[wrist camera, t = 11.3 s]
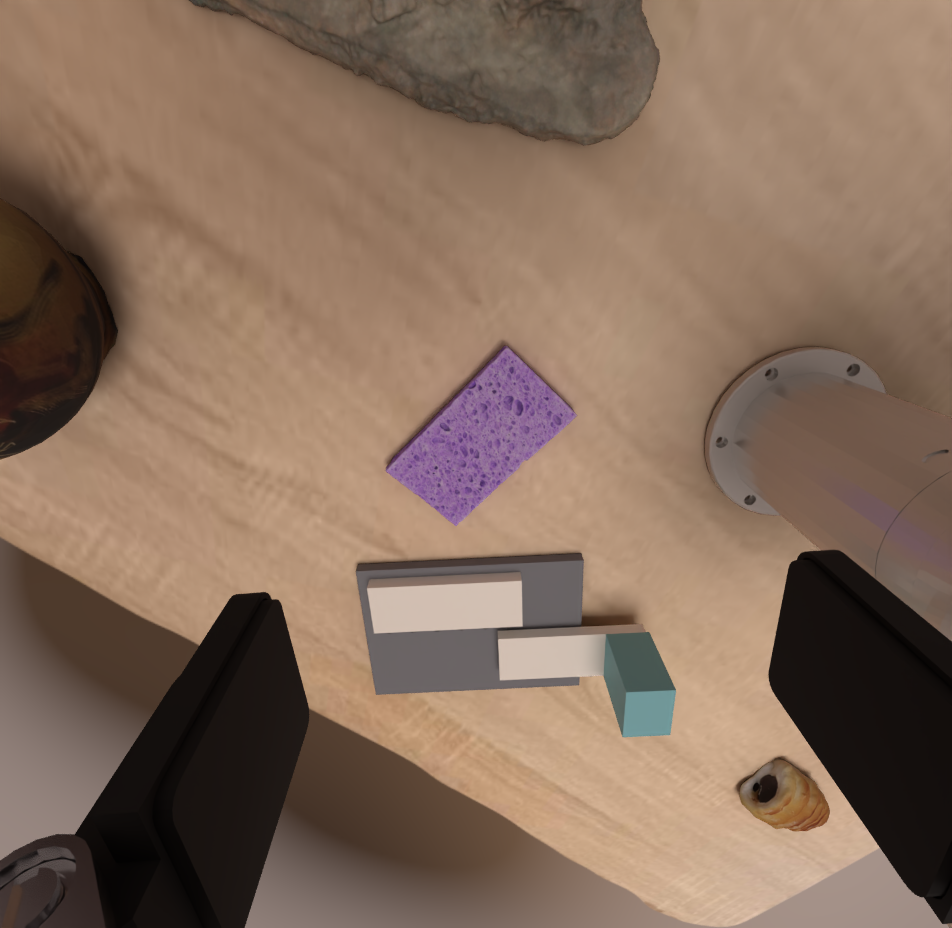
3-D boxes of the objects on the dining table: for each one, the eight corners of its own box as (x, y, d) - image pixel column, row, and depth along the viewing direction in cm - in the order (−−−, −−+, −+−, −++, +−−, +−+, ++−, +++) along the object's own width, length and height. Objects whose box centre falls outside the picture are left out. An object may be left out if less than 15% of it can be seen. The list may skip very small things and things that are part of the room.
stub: (645, 623, 44) (675, 690, 37) (641, 664, 45) (670, 734, 39) (497, 630, 44) (502, 698, 37) (499, 671, 45) (504, 742, 39)
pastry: (837, 788, 54) (862, 827, 51) (785, 823, 56) (806, 862, 53) (777, 750, 52) (799, 787, 48) (725, 787, 54) (743, 825, 50)
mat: (581, 553, 42) (583, 560, 41) (576, 676, 47) (579, 685, 47) (358, 564, 43) (355, 571, 42) (377, 685, 48) (376, 694, 47)
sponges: (573, 408, 38) (578, 416, 36) (454, 518, 42) (454, 530, 40) (505, 340, 36) (507, 345, 35) (386, 462, 40) (383, 472, 38)
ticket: (520, 571, 42) (521, 580, 41) (521, 625, 44) (522, 635, 43) (369, 579, 42) (366, 588, 41) (377, 632, 44) (375, 642, 43)
